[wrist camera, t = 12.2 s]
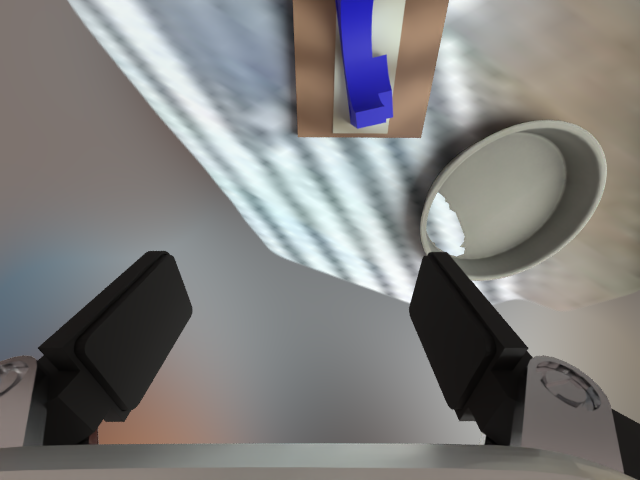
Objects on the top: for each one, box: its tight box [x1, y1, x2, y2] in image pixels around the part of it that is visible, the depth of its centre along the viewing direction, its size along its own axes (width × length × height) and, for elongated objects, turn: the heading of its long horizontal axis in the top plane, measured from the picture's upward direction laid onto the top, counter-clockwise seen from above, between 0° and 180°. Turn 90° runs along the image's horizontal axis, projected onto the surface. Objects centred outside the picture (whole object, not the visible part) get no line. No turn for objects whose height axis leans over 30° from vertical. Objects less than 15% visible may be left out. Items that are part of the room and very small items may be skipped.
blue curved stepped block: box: [335, 0, 393, 129], centre depth 24 cm, size 12×4×6 cm, turn 11°
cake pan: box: [420, 120, 607, 281], centre depth 36 cm, size 25×25×4 cm
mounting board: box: [293, 0, 449, 138], centre depth 28 cm, size 16×16×2 cm
